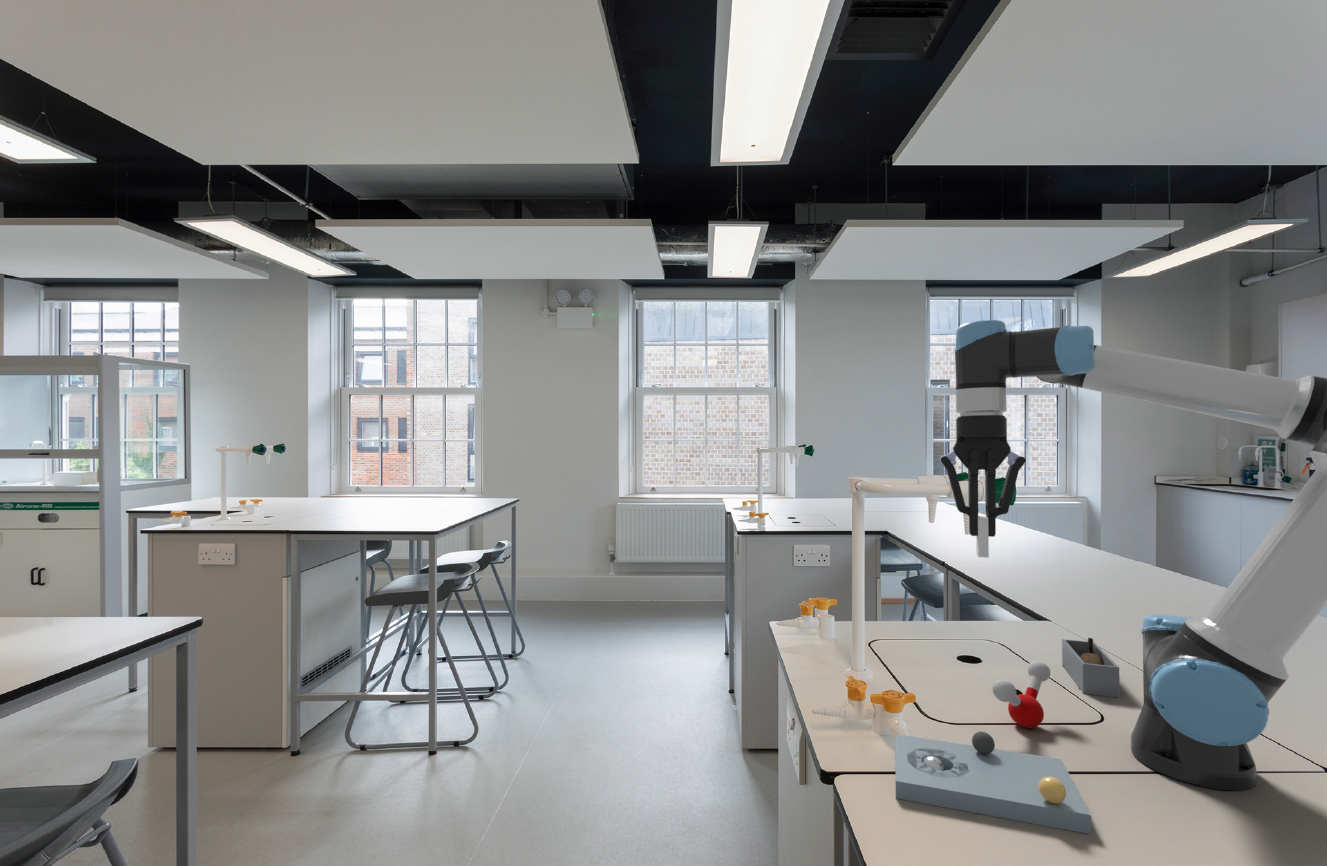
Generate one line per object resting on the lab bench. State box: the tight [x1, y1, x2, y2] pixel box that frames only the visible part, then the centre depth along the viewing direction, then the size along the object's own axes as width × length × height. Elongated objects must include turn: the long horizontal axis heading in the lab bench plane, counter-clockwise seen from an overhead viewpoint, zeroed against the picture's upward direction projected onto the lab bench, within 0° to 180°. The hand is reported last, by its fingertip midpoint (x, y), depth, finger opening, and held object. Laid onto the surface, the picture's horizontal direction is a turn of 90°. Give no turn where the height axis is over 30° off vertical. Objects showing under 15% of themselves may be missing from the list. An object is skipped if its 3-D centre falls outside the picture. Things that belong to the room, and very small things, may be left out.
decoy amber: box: [1039, 777, 1066, 804], centre depth 84 cm, size 3×3×3 cm
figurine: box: [1078, 637, 1103, 690], centre depth 132 cm, size 14×4×9 cm, turn 147°
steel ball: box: [922, 756, 944, 771], centre depth 94 cm, size 3×3×3 cm
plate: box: [894, 733, 1092, 835], centre depth 92 cm, size 24×15×2 cm, turn 70°
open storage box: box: [1061, 638, 1121, 699], centre depth 131 cm, size 6×16×6 cm, turn 160°
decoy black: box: [971, 731, 996, 754], centre depth 97 cm, size 3×3×3 cm
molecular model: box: [991, 660, 1051, 729], centre depth 111 cm, size 18×6×10 cm, turn 133°
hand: (982, 555), depth 103 cm, fingers closed
